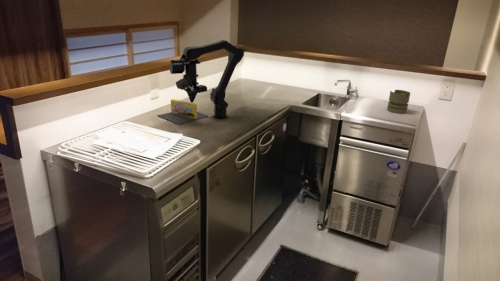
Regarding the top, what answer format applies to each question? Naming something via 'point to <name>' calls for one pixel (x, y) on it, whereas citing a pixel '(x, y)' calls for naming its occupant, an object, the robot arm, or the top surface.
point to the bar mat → (180, 118)
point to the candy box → (184, 108)
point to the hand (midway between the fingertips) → (191, 102)
